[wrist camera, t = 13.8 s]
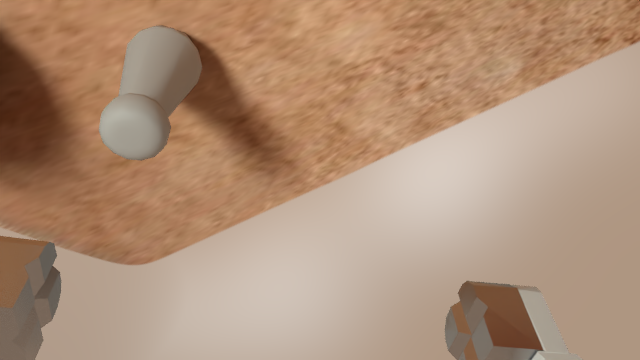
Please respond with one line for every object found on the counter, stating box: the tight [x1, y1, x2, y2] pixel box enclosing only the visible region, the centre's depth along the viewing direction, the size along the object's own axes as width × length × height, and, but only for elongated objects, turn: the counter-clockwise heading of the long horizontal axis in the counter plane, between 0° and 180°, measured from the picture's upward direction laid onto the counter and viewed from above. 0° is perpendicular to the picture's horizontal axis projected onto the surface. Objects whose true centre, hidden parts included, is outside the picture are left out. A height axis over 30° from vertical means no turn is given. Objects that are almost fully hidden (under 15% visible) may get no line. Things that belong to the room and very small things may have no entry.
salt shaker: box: [99, 25, 202, 160], centre depth 39 cm, size 6×6×13 cm
